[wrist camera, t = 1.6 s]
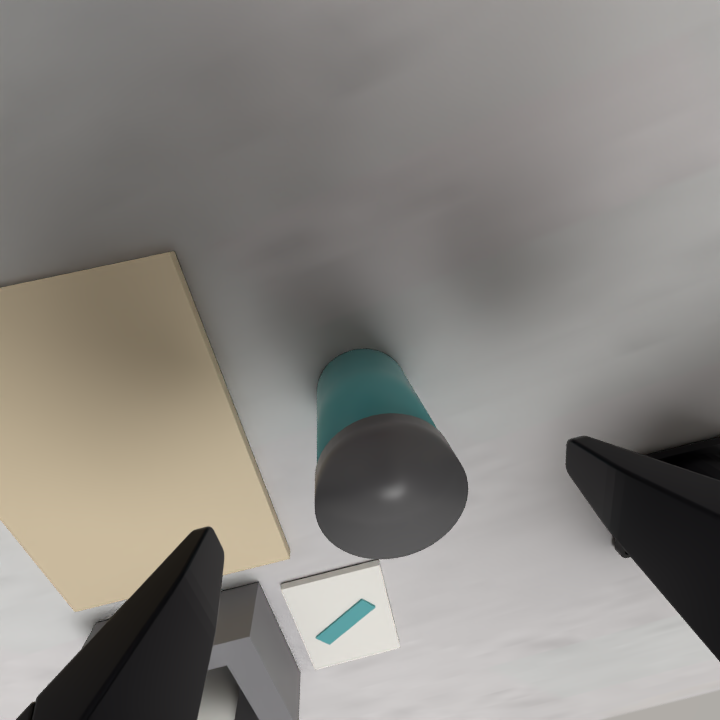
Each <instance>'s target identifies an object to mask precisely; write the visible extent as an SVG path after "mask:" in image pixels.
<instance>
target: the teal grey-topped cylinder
mask: <svg viewBox="0 0 720 720" xmlns="http://www.w3.org/2000/svg"><path fill="white" fill-rule="evenodd" d="M467 496H468V482H467V477H466V474H465V471H464V469H463V467H462V465H461V463H460V462H459V460H458V458H457V457H456V455H455V454H454V452H453V450H452V449H451V447H450V445H449V444H448V442H447V440H446V439H445V437H444V436H443V435H442V434H441V432H440V431H439V430H438V429H437V428H436V426H435V424H434V423H433V421H432V419H431V418H430V416H429V414H428V413H427V411H426V409H425V408H424V406H423V404H422V403H421V401H420V399H419V398H418V396H417V394H416V393H415V391H414V389H413V388H412V386H411V384H410V383H409V381H408V379H407V378H406V376H405V374H404V373H403V371H402V369H401V368H400V366H399V365H398V364H397V362H396V361H394V360H393V359H392V358H391V357H390V356H388V355H386V354H384V353H382V352H380V351H377V350H372V349H356V350H352V351H348V352H346V353H343V354H341V355H339V356H338V357H336V358H335V359H334V360H332V361H331V362H330V363H329V364H328V365H327V366H326V368H325V369H324V370H323V372H322V374H321V376H320V379H319V382H318V386H317V466H316V472H315V515H316V519H317V522H318V525H319V527H320V529H321V531H322V532H323V534H324V535H325V536H326V537H327V539H328V540H329V541H330V542H331V543H333V544H334V545H335V546H336V547H338V548H340V549H341V550H343V551H345V552H347V553H349V554H352V555H355V556H358V557H363V558H369V559H391V558H398V557H403V556H407V555H410V554H413V553H416V552H418V551H421V550H423V549H425V548H427V547H429V546H431V545H432V544H434V543H435V542H437V541H438V540H439V539H441V538H442V537H443V536H444V535H446V534H447V533H448V532H449V531H450V530H451V529H452V527H453V526H454V525H455V524H456V522H457V521H458V519H459V518H460V516H461V514H462V512H463V510H464V508H465V504H466V501H467Z"/></svg>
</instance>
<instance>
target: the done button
mask: <svg viewBox="0 0 720 720" xmlns="http://www.w3.org/2000/svg"><path fill="white" fill-rule="evenodd" d="M239 691H240V687H239V685H238V683H237V681H236V680H235V678H234V676H233V675H232V673H231V671H230V670H229V668H228V666H223V667H219V668H215V669H211V670H208V671H207V676H206V681H205V685H204V690H203V695H202V699H201V704H200V709H199V714H198V718H197V720H235V714H236V708H237V702H238V697H239Z"/></svg>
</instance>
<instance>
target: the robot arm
mask: <svg viewBox="0 0 720 720" xmlns="http://www.w3.org/2000/svg"><path fill="white" fill-rule="evenodd" d="M566 469H567V472H568V474H569V475H570V477H571V478H572V480H573V481H574V483H575V484H576V485H577V487H578V488H579V490H580V491H581V493H582V494H583V495H584V497H585V498H586V500H587V501H588V503H589V504H590V505H591V507H592V508H593V510H594V511H595V512H596V514H597V515H598V517H599V518H600V520H601V521H602V522H603V524H604V525H605V526H606V528H607V529H608V530H609V532H610V533H611V534H612V535H613V536H614V538H615V539H616V540H615V550H616V551H617V552H618V553H619V554H620V555H621V556H622V557H624V558H629V557H631V558H632V559H633V560H634V561H635V563H636V564H637V565H638V566H639V567H640V568H641V570H642V571H643V572H644V573H645V574H646V575H647V577H648V578H649V579H650V580H651V581H652V583H653V584H654V585H655V586H656V587H657V588H658V590H659V591H660V592H661V593H662V594H663V595H664V597H665V598H666V599H667V600H668V601H669V602H670V604H671V605H672V606H673V607H674V608H675V610H676V611H677V612H678V613H679V614H680V615H681V617H682V618H683V619H684V620H685V621H686V622H687V624H688V625H689V626H690V627H691V628H692V630H693V631H694V632H695V633H696V634H697V635H698V637H699V638H700V639H701V640H702V641H703V642H704V644H705V645H706V646H707V647H708V648H709V650H710V651H711V652H712V653H713V654H714V655H715V657H716V658H717V659H718V660H719V661H720V437H717V438H713V439H709V440H705V441H701V442H697V443H693V444H689V445H685V446H681V447H677V448H673V449H669V450H665V451H661V452H656V453H652V454H648V455H642V454H639V453H636V452H633V451H630V450H627V449H624V448H621V447H618V446H615V445H612V444H609V443H606V442H603V441H600V440H597V439H594V438H591V437H588V436H580V437H576V438H571V439H569V440H568V441H567V444H566ZM223 568H224V550H223V547H222V545H221V543H220V541H219V539H218V537H217V535H216V533H215V531H214V529H213V528H212V527H210V526H207V527H203V528H199V529H195V530H193V531H192V532H191V533H189V535H188V536H187V537H186V538H185V539H184V540H183V541H182V542H181V543H180V544H179V545H178V546H177V547H176V549H175V550H174V551H173V552H172V553H171V554H170V555H169V556H168V557H167V558H166V559H165V560H164V561H163V562H162V564H161V565H160V566H159V567H158V568H157V569H156V570H155V571H154V572H153V573H152V574H151V575H150V576H149V577H148V579H147V580H146V581H145V582H144V583H143V584H142V585H141V586H140V587H139V588H138V589H137V590H136V591H135V592H134V594H133V595H132V596H131V597H130V598H129V599H128V600H127V601H126V602H125V603H124V604H123V605H122V606H121V607H120V609H119V610H118V611H117V612H116V613H115V614H114V615H113V616H112V617H111V618H110V619H109V620H108V621H107V622H106V624H105V625H104V626H103V627H102V628H101V629H100V630H99V631H98V632H97V633H96V634H95V635H94V636H93V637H92V639H91V640H90V641H89V642H88V643H87V644H86V645H85V646H84V647H83V648H82V649H81V650H80V651H79V652H78V654H77V655H76V656H75V657H74V658H73V659H72V660H71V661H70V662H69V663H68V664H67V665H66V666H65V667H64V669H63V670H62V671H61V672H60V673H59V674H58V675H57V676H56V677H55V678H54V679H53V680H52V681H51V682H50V684H49V685H48V686H47V687H46V688H45V689H44V690H43V691H42V692H41V693H40V694H39V695H38V697H37V698H36V702H32V703H31V704H30V705H29V706H28V707H27V708H26V709H25V710H24V711H23V712H22V713H21V714H20V716H19V717H18V718H17V719H16V720H197V718H198V714H199V709H200V704H201V699H202V695H203V690H204V685H205V681H206V676H207V671H208V667H209V662H210V657H211V652H212V648H213V643H214V638H215V633H216V626H217V619H218V611H219V602H220V594H221V585H222V576H223Z"/></svg>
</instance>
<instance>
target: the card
mask: <svg viewBox="0 0 720 720" xmlns="http://www.w3.org/2000/svg"><path fill="white" fill-rule="evenodd" d="M281 591H282V594H283V596H284V598H285V601H286V603H287V606H288V608H289V610H290V613H291V615H292V617H293V620H294V622H295V624H296V627H297V629H298V631H299V634H300V636H301V638H302V641H303V643H304V645H305V648H306V650H307V652H308V655H309V657H310V659H311V662H312V664H313V666H314V669H315V670H318V669H322V668H326V667H329V666H333V665H337V664H341V663H345V662H349V661H352V660H356V659H360V658H364V657H368V656H372V655H375V654H379V653H383V652H387V651H391V650H395V649H398V648H400V643H399V639H398V635H397V631H396V627H395V623H394V619H393V615H392V611H391V607H390V603H389V599H388V595H387V591H386V587H385V583H384V579H383V575H382V571H381V567H380V563H379V560H375V561H371V562H367V563H363V564H359V565H355V566H351V567H347V568H343V569H339V570H335V571H331V572H327V573H323V574H319V575H315V576H311V577H307V578H303V579H299V580H295V581H291V582H287V583H283V584H281Z"/></svg>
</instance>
